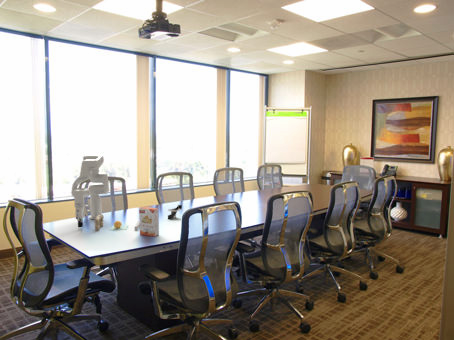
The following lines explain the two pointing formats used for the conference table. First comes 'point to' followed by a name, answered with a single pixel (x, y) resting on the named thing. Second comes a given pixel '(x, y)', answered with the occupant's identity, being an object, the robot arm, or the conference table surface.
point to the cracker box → (149, 221)
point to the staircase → (174, 212)
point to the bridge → (98, 222)
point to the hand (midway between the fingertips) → (80, 227)
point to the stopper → (137, 225)
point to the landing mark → (119, 228)
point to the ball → (117, 224)
